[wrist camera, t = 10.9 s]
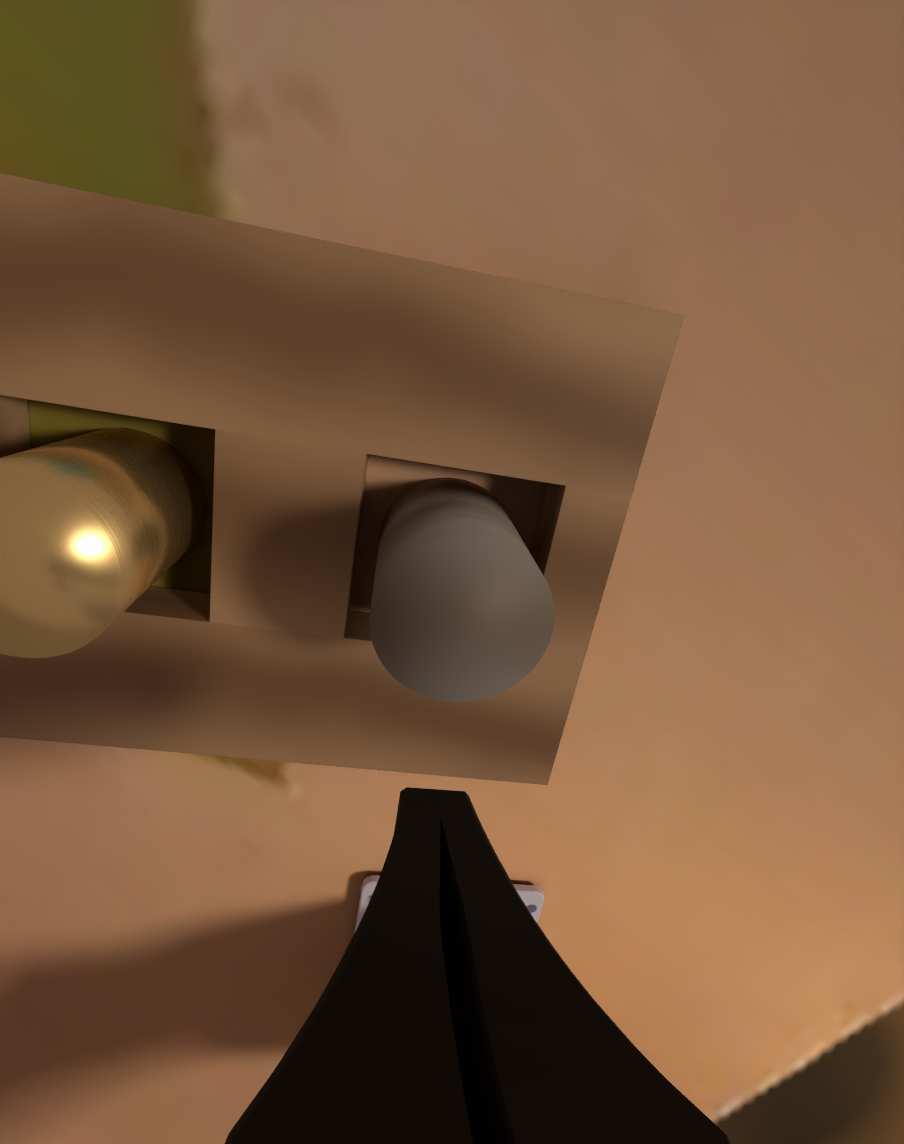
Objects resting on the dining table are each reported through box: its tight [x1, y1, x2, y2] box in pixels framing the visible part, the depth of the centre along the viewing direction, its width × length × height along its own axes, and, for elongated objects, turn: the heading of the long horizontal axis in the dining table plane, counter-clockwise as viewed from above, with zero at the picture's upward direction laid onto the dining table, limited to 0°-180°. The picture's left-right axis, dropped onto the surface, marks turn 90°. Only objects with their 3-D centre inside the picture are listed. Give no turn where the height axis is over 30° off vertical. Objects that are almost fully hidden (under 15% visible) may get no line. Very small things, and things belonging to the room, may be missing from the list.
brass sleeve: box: [0, 428, 206, 658], centre depth 15 cm, size 4×4×6 cm
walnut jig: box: [0, 173, 684, 785], centre depth 16 cm, size 16×20×6 cm
